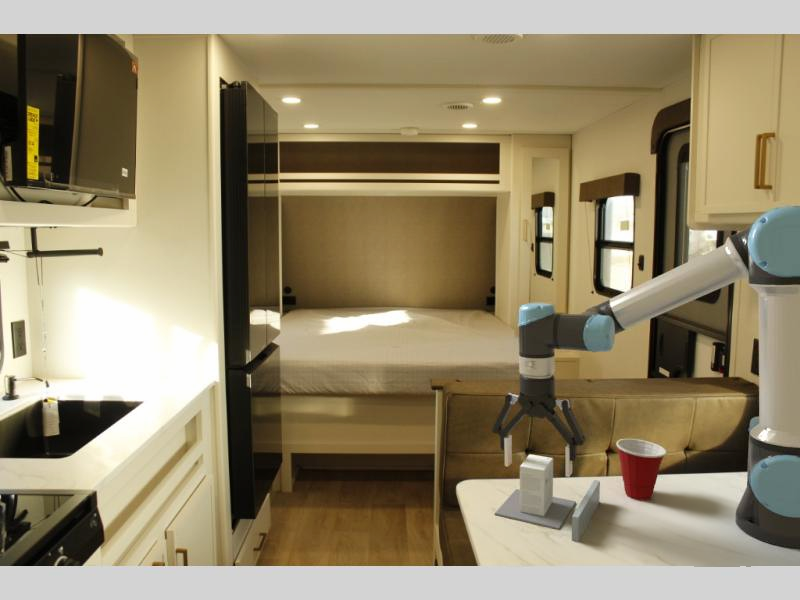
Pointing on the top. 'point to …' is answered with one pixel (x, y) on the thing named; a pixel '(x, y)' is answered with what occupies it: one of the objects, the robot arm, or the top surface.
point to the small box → (536, 485)
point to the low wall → (585, 510)
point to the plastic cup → (639, 466)
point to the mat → (551, 519)
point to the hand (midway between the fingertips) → (537, 469)
